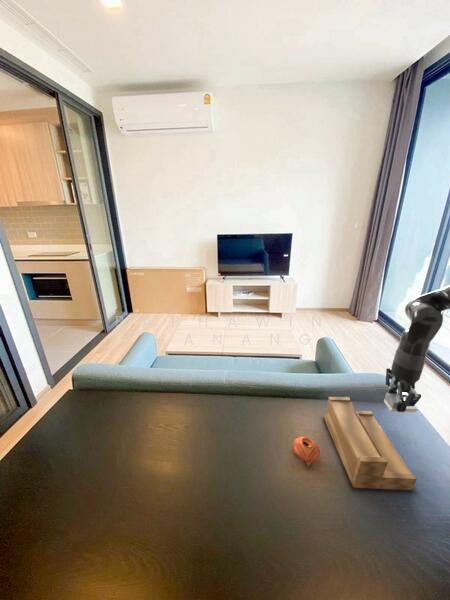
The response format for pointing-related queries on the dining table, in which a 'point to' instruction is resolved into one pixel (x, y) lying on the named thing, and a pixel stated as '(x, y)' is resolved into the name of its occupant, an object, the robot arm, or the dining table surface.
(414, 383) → the robot arm
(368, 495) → the dining table surface
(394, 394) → the block chair shape
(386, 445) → the stepped wooden ledge
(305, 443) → the pot
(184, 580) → the dining table surface
